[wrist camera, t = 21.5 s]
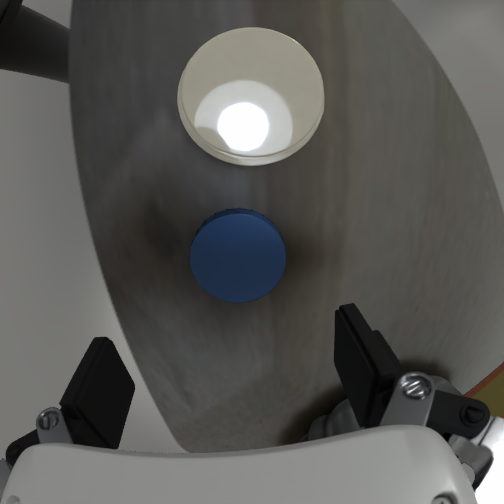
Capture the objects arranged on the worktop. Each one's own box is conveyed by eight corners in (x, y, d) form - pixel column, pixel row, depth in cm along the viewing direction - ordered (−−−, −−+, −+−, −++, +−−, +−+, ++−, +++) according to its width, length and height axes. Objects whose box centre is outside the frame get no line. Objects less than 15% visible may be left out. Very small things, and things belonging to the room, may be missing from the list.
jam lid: (243, 307, 24) (244, 318, 23) (174, 258, 23) (170, 266, 21) (301, 246, 23) (306, 255, 21) (231, 188, 21) (230, 192, 19)
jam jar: (186, 140, 19) (146, 137, 10) (220, 58, 17) (208, 1, 8) (272, 171, 20) (298, 193, 12) (306, 91, 18) (355, 57, 10)
